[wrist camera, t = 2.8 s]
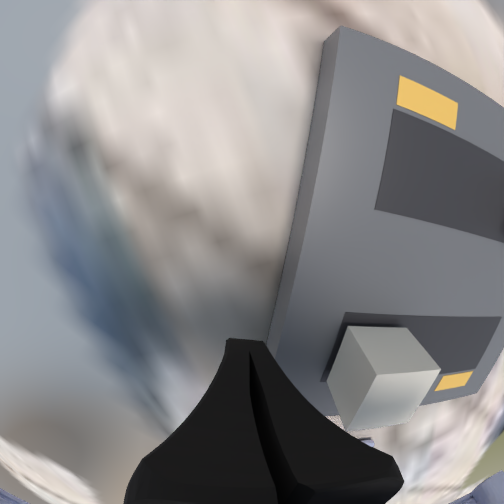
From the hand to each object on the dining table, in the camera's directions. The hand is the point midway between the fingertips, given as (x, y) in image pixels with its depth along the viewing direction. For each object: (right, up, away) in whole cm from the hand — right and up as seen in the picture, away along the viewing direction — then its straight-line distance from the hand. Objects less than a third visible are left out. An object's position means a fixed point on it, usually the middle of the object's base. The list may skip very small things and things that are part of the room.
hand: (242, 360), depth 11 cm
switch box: (+10, +4, +3) cm, 11 cm away
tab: (+5, 0, +1) cm, 6 cm away
